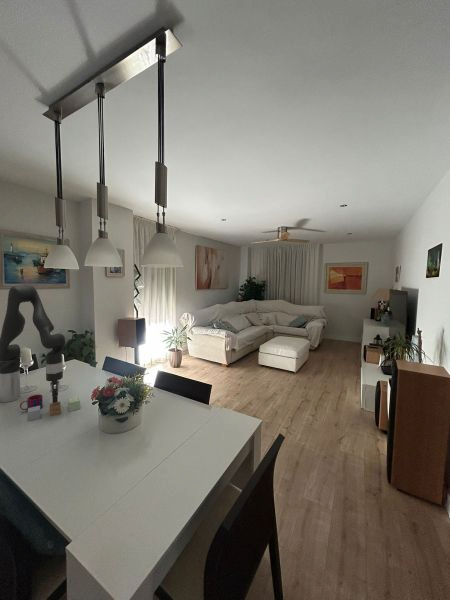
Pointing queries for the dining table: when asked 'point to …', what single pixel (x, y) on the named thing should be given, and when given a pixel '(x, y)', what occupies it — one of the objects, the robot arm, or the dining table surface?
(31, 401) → the mug
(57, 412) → the walnut cube
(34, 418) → the slate cube
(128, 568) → the dining table surface
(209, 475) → the dining table surface
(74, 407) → the sage cube
